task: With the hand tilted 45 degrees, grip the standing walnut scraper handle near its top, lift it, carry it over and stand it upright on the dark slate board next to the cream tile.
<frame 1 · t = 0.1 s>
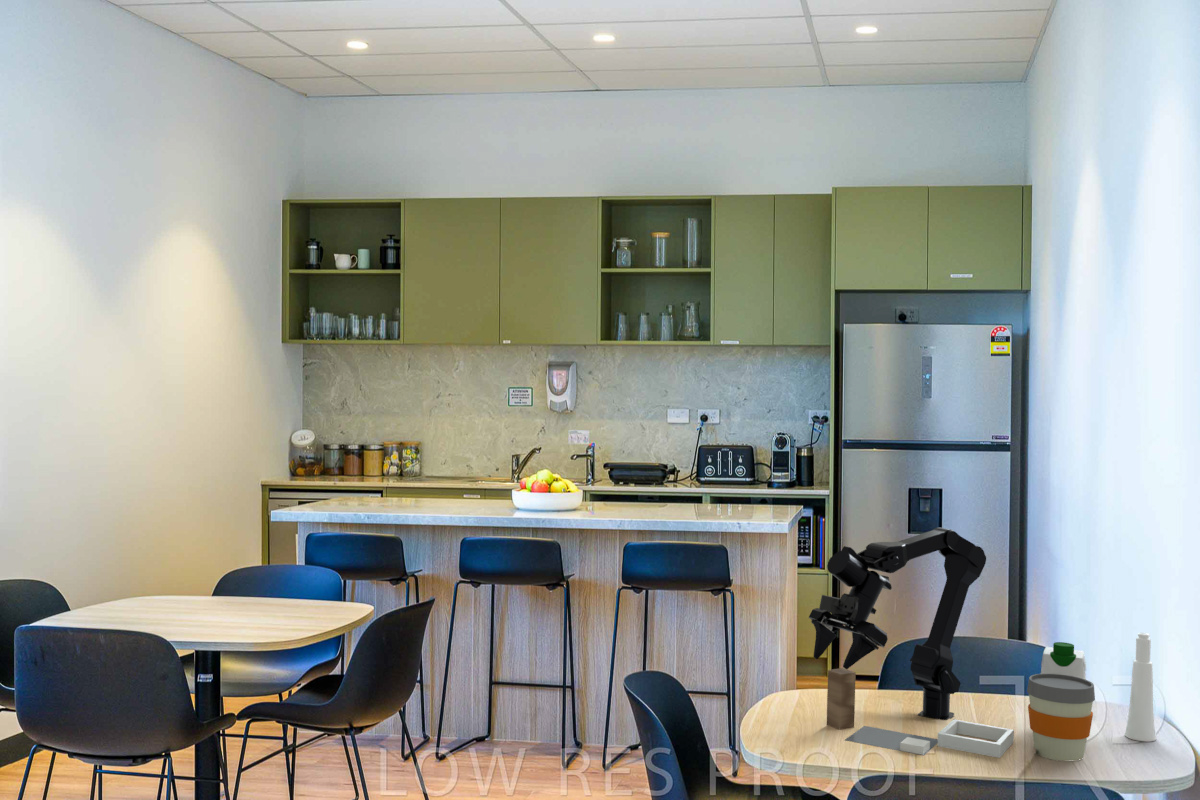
hand: (829, 663, 238), 15 cm above the table, tool tilted 35°, fingers open, 9 cm apart
slate board: (892, 747, 231), on the table
reusable coffee cup: (1058, 757, 228), on the table
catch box: (975, 751, 229), on the table
tile in box: (975, 748, 229), resting on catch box
cosmetic bottle: (1140, 738, 242), on the table
milk carton: (1061, 738, 241), on the table
walnut handle: (840, 733, 239), on the table
tile on board: (915, 749, 225), point 1 cm above the table, touching slate board
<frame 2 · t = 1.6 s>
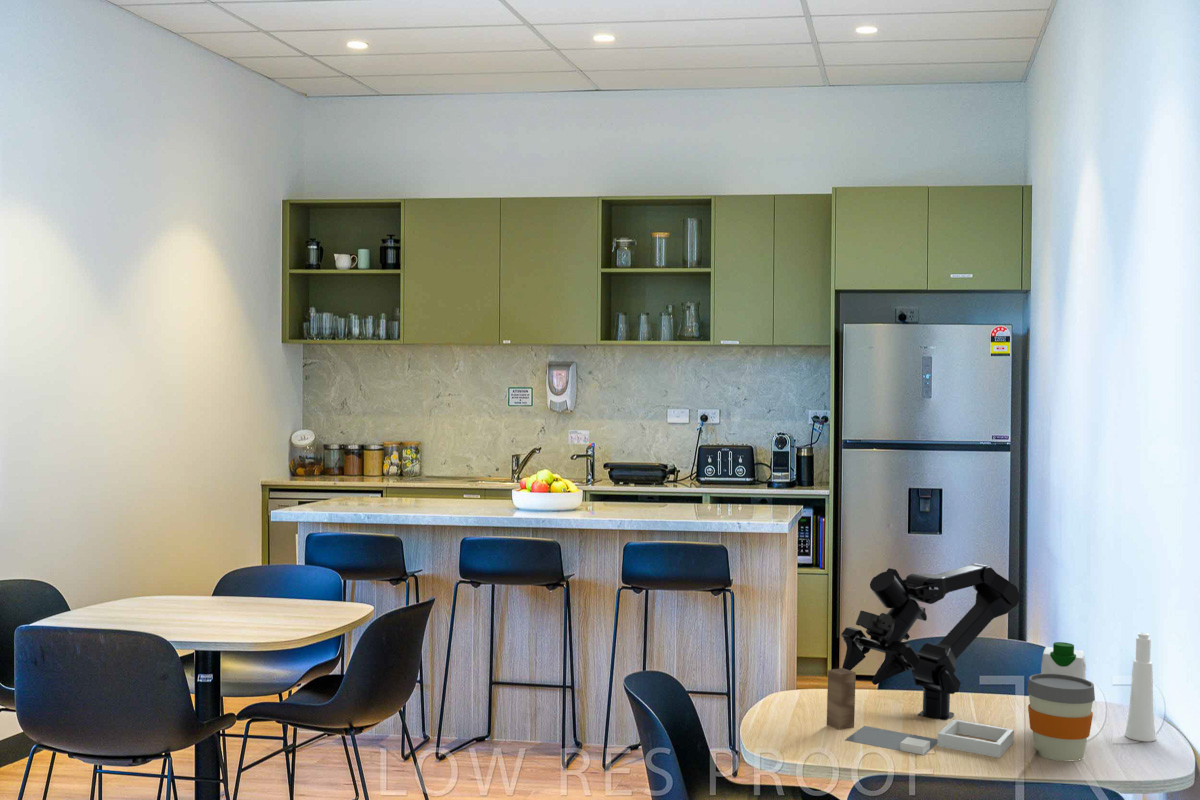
hand: (857, 678, 242), 11 cm above the table, tool tilted 45°, fingers open, 9 cm apart
nothing on the table moved.
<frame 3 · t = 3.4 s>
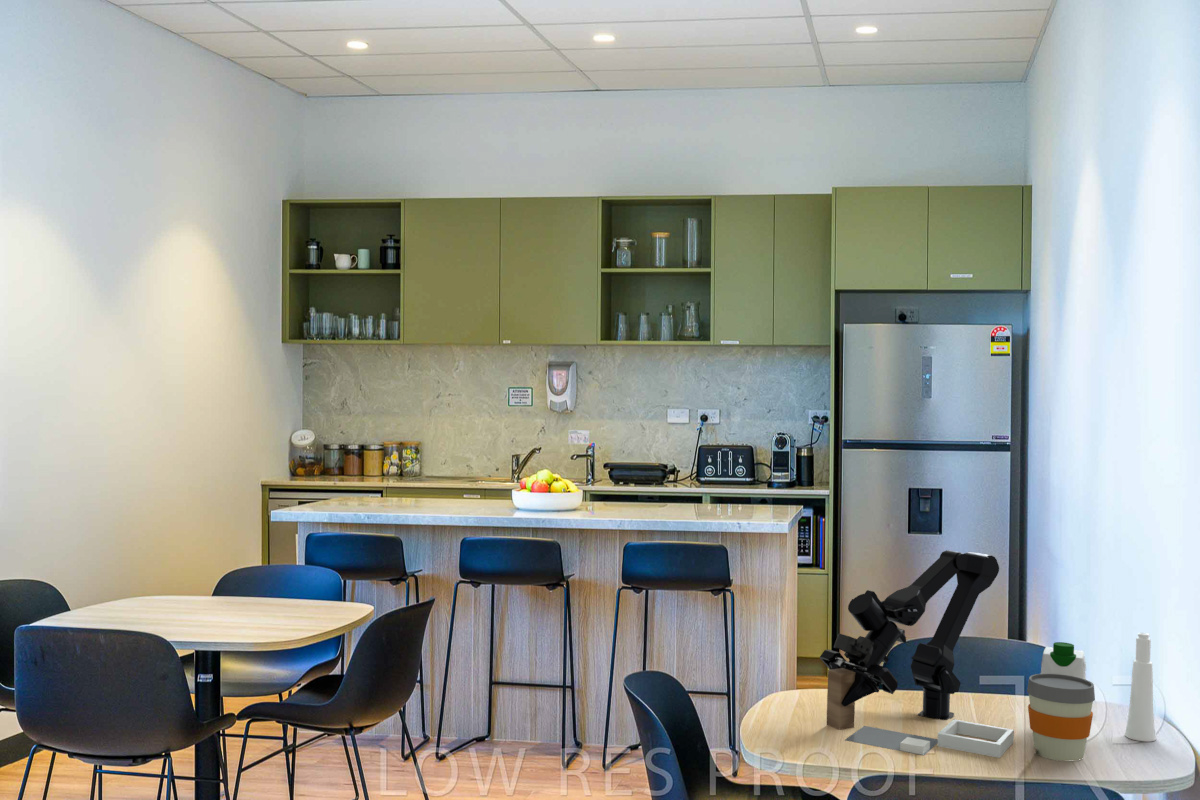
hand: (835, 702, 239), 7 cm above the table, tool tilted 45°, fingers closed on walnut handle, 4 cm apart
walnut handle: (840, 733, 239), on the table, touching gripper
everything else where it was.
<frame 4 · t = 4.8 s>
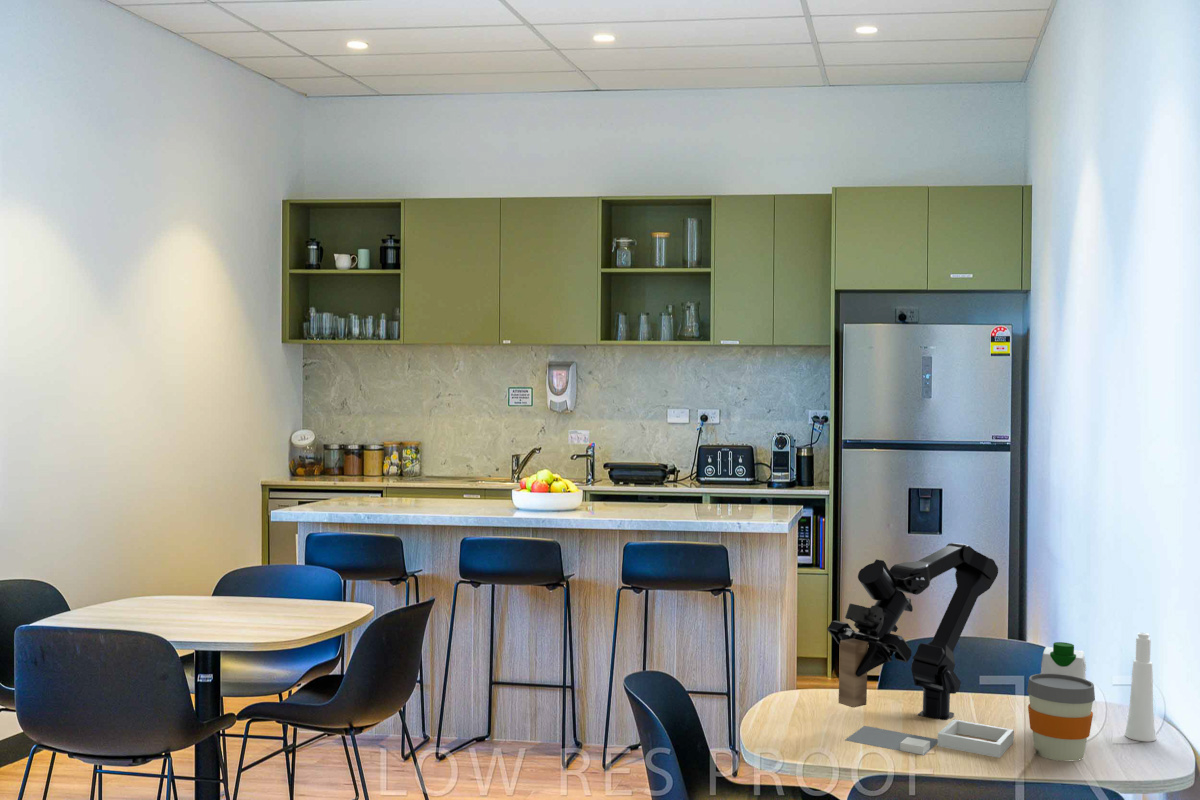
hand: (848, 673, 236), 13 cm above the table, tool tilted 45°, fingers closed on walnut handle, 4 cm apart
walnut handle: (852, 703, 237), point 7 cm above the table, touching gripper
everything else where it was.
when the fingers open (9 cm above the table, at t = 6.6 s): walnut handle stays where it is, resting on slate board.
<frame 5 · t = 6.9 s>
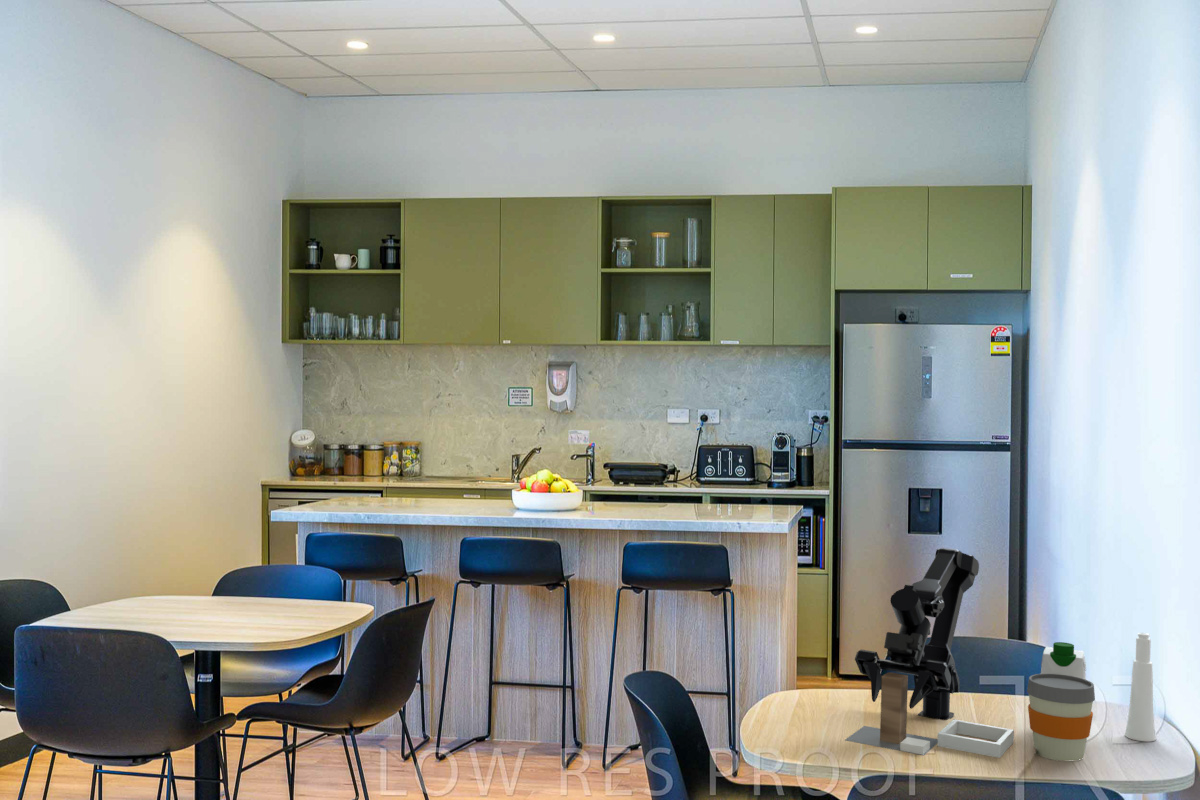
hand: (891, 704, 229), 9 cm above the table, tool tilted 45°, fingers open, 7 cm apart
walnut handle: (893, 739, 231), point 1 cm above the table, touching slate board
everything else where it was.
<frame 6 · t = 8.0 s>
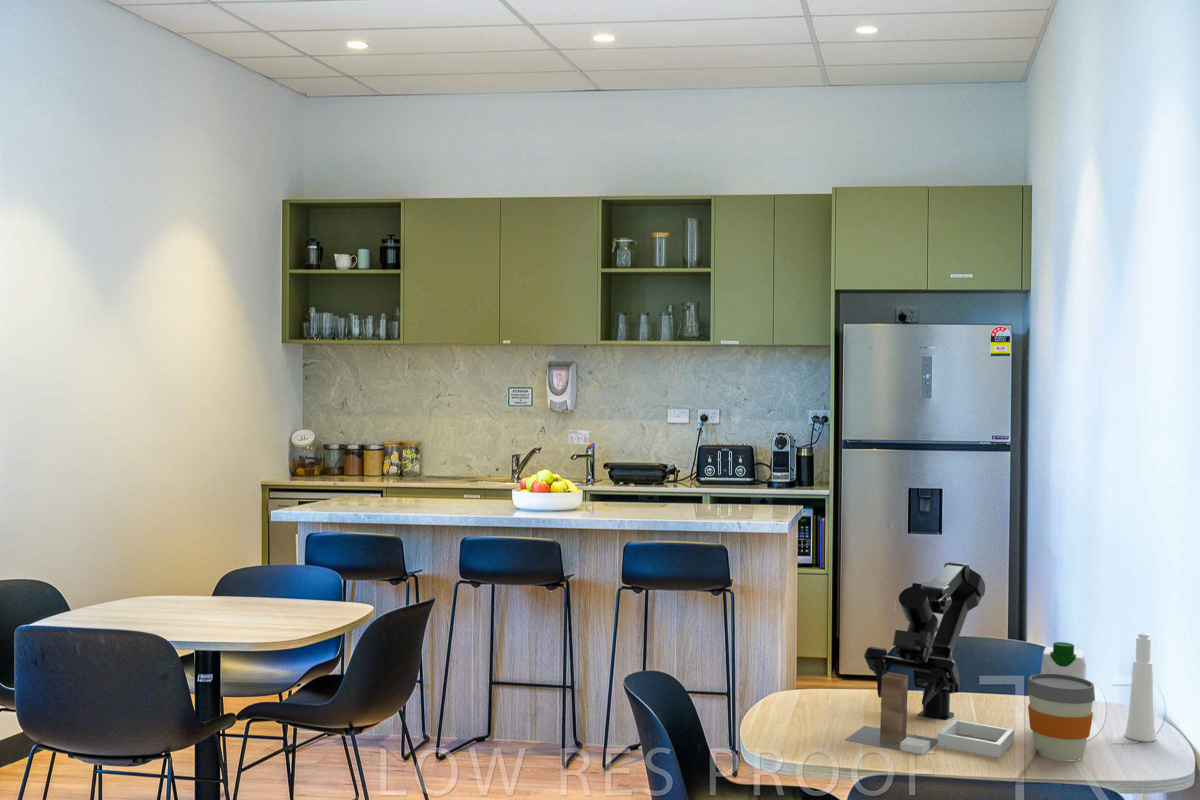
hand: (900, 700, 234), 9 cm above the table, tool tilted 45°, fingers open, 9 cm apart
nothing on the table moved.
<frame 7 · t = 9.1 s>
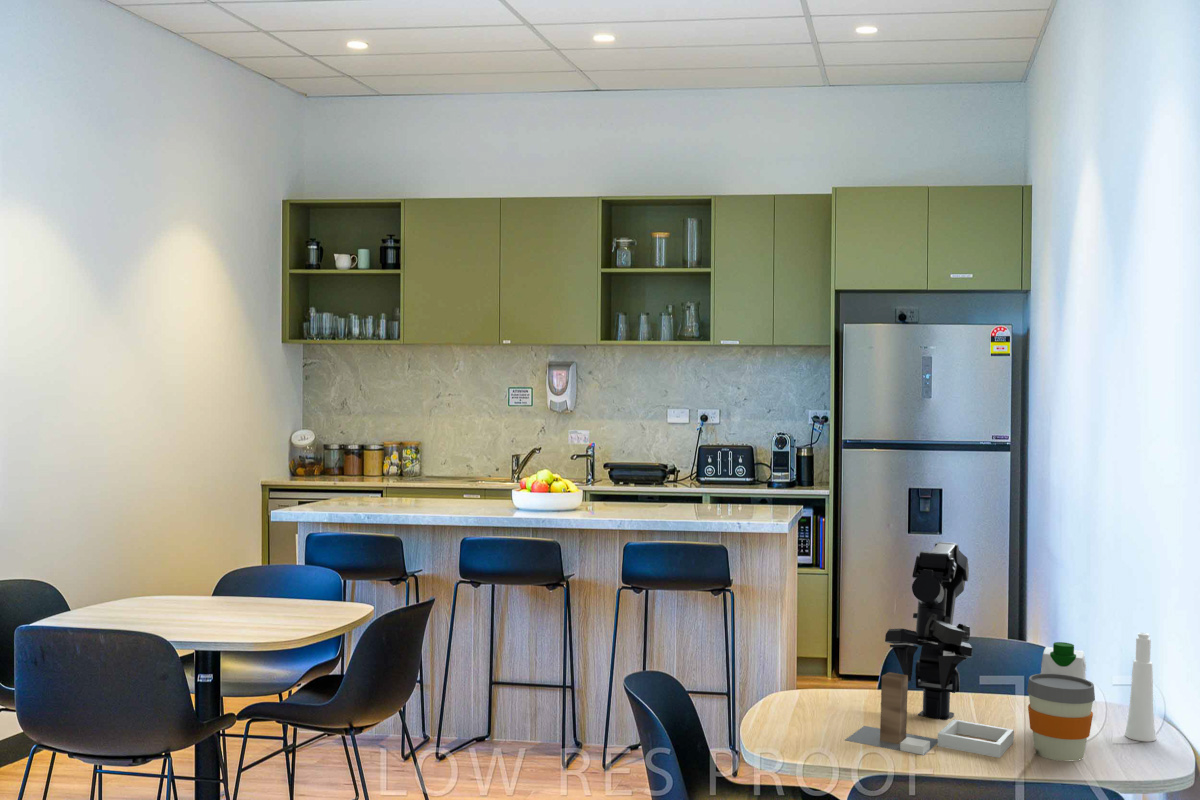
hand: (926, 685, 238), 11 cm above the table, tool tilted 20°, fingers open, 9 cm apart
nothing on the table moved.
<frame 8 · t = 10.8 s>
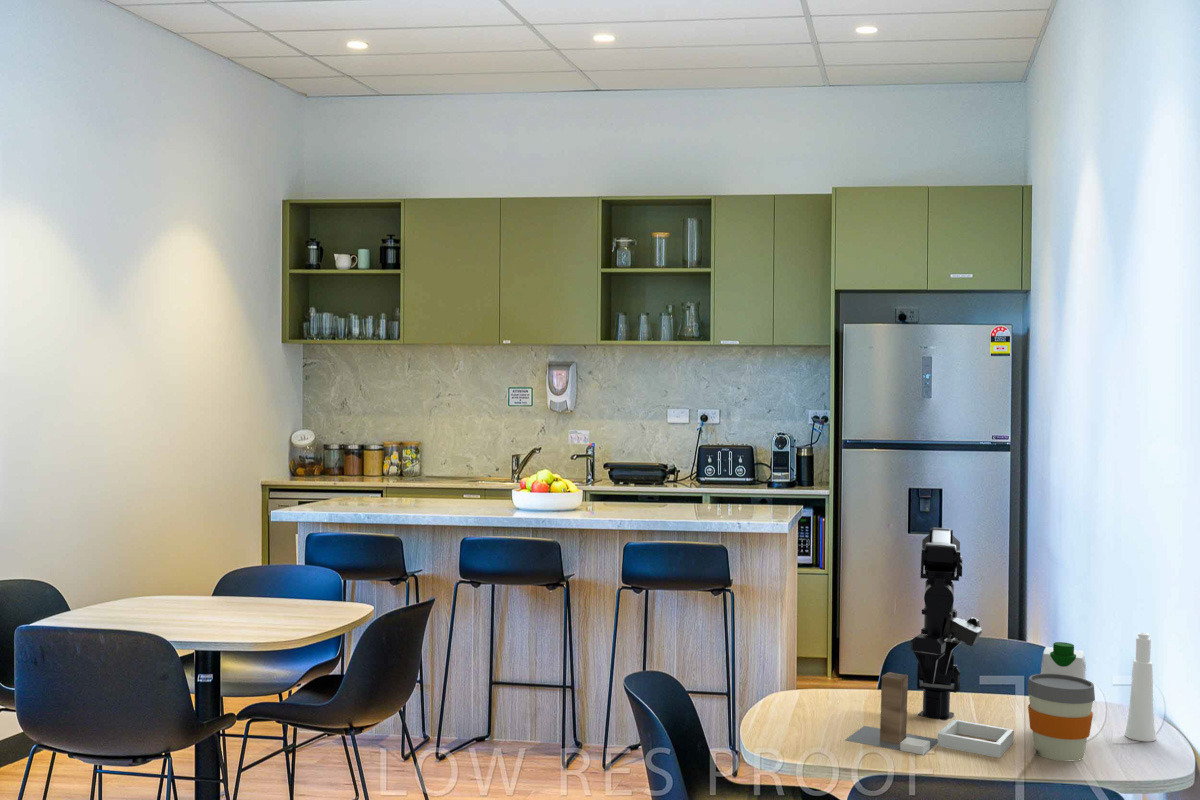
hand: (936, 679, 238), 12 cm above the table, tool pointing down, fingers open, 9 cm apart
nothing on the table moved.
at the end: walnut handle inside the target area on the slate board (0.0 cm from its centre), point 1.5 cm above the slate board's base; walnut handle tilted 0°; the gripper is holding nothing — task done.
